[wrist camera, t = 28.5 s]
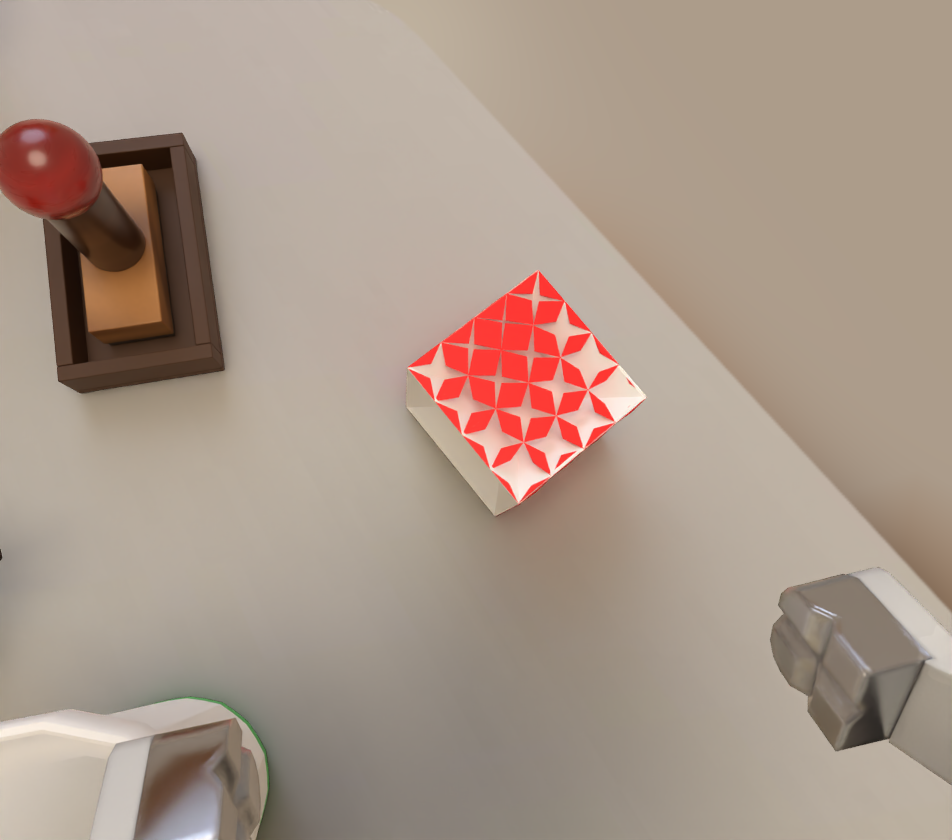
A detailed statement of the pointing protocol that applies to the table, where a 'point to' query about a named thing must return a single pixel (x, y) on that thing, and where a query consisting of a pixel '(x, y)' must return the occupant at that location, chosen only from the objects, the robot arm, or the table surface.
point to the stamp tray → (188, 277)
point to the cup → (88, 762)
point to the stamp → (95, 225)
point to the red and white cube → (518, 393)
